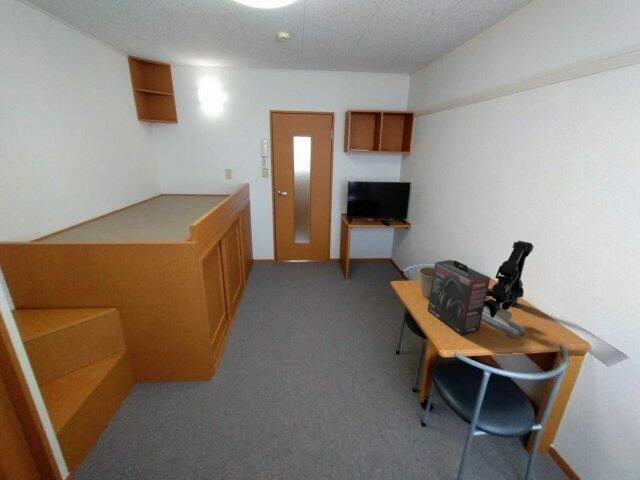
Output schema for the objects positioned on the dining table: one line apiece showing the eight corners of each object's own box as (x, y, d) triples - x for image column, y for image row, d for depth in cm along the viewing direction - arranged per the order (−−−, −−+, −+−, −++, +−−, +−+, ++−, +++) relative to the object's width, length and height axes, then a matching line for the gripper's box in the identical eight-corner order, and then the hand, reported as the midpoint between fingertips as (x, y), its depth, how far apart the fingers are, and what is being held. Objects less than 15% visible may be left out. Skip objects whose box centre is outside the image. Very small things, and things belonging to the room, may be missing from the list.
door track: (480, 309, 163) (481, 303, 162) (525, 332, 143) (526, 326, 142) (468, 313, 158) (469, 308, 157) (513, 338, 138) (515, 332, 137)
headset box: (426, 310, 161) (434, 255, 150) (443, 306, 165) (453, 253, 155) (460, 336, 139) (473, 274, 129) (480, 331, 143) (493, 271, 133)
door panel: (486, 313, 156) (489, 302, 154) (509, 325, 146) (512, 313, 144) (483, 315, 154) (486, 303, 152) (506, 327, 144) (509, 315, 142)
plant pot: (426, 287, 187) (430, 265, 182) (446, 297, 175) (450, 273, 170) (410, 292, 180) (413, 269, 175) (429, 303, 168) (433, 279, 163)
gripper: (498, 278, 155) (492, 303, 160) (477, 285, 147) (471, 312, 152) (520, 287, 146) (513, 313, 151) (498, 295, 138) (492, 323, 142)
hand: (497, 315), depth 149 cm, fingers open, 9 cm apart
